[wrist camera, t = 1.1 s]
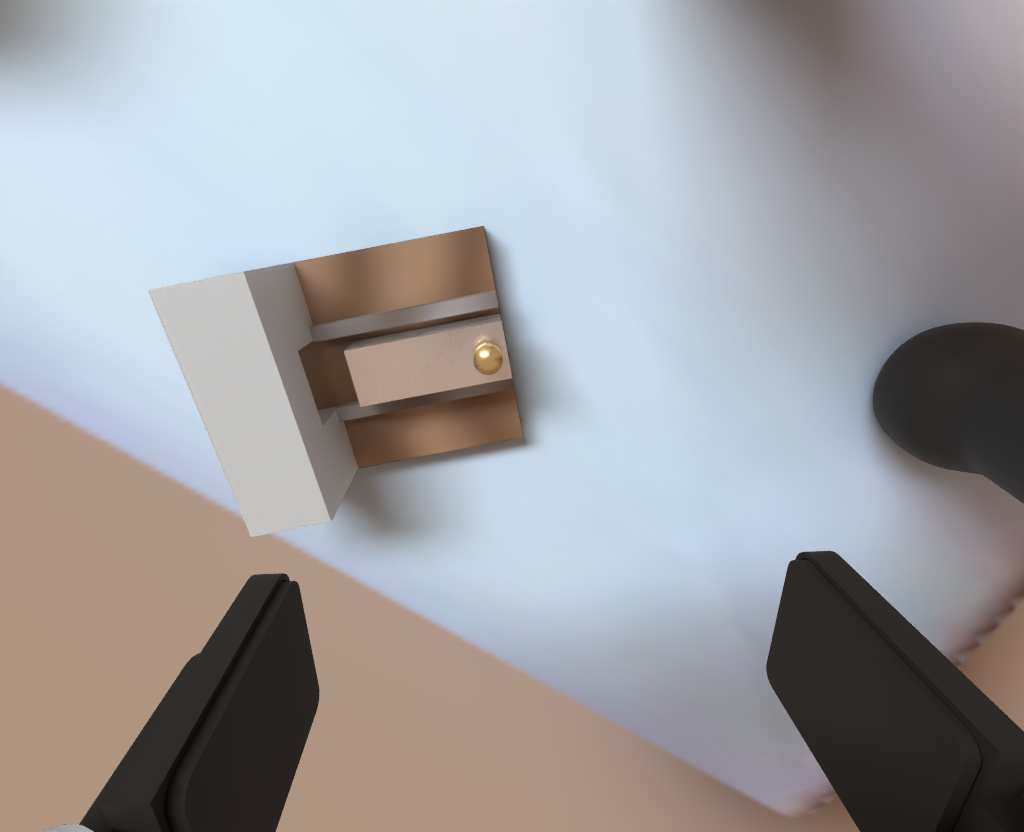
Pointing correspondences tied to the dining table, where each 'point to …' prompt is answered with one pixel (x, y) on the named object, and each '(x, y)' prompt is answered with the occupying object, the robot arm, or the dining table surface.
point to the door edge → (259, 395)
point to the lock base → (393, 309)
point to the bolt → (428, 360)
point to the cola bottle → (959, 400)
